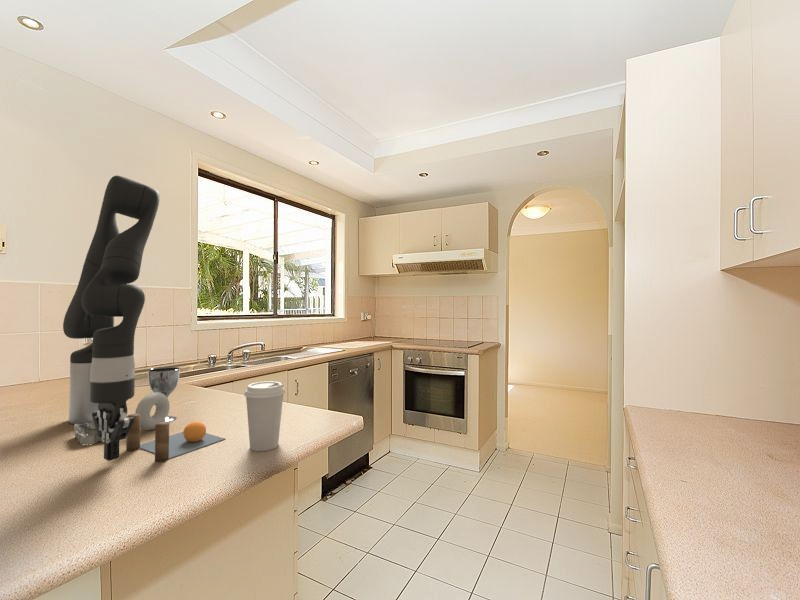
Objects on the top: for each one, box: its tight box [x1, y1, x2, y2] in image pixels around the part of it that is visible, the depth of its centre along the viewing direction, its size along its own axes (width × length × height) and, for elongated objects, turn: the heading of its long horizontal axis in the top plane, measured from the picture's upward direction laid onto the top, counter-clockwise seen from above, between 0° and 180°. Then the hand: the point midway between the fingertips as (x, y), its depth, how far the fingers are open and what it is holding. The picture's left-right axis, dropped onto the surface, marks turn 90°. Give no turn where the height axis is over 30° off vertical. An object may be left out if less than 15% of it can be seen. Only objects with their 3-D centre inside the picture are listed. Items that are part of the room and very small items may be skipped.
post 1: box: [125, 413, 141, 452], centre depth 88 cm, size 3×3×8 cm
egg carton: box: [73, 422, 103, 446], centre depth 95 cm, size 11×8×4 cm
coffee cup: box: [243, 380, 286, 452], centre depth 91 cm, size 10×10×15 cm
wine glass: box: [147, 366, 181, 423], centre depth 110 cm, size 8×8×15 cm
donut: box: [134, 392, 171, 431], centre depth 102 cm, size 10×4×10 cm, turn 170°
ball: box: [182, 420, 207, 442], centre depth 93 cm, size 5×5×5 cm
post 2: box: [154, 422, 170, 463], centre depth 82 cm, size 3×3×8 cm
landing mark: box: [139, 431, 226, 460], centre depth 92 cm, size 14×14×1 cm
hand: (111, 458), depth 79 cm, fingers closed
